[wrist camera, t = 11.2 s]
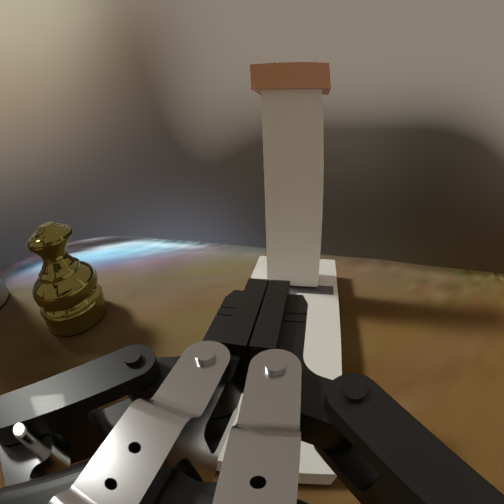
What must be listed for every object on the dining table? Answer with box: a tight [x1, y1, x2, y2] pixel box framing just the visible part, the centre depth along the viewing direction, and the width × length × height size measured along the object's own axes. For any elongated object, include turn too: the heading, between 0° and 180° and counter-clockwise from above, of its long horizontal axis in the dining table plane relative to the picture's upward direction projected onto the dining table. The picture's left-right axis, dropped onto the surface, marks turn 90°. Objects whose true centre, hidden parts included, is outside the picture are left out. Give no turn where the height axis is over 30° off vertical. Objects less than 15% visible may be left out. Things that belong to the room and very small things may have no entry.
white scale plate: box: [216, 256, 342, 485], centre depth 20 cm, size 8×22×2 cm, turn 168°
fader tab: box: [250, 62, 331, 287], centre depth 21 cm, size 6×4×18 cm, turn 78°
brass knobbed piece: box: [27, 221, 106, 336], centre depth 22 cm, size 7×7×10 cm
